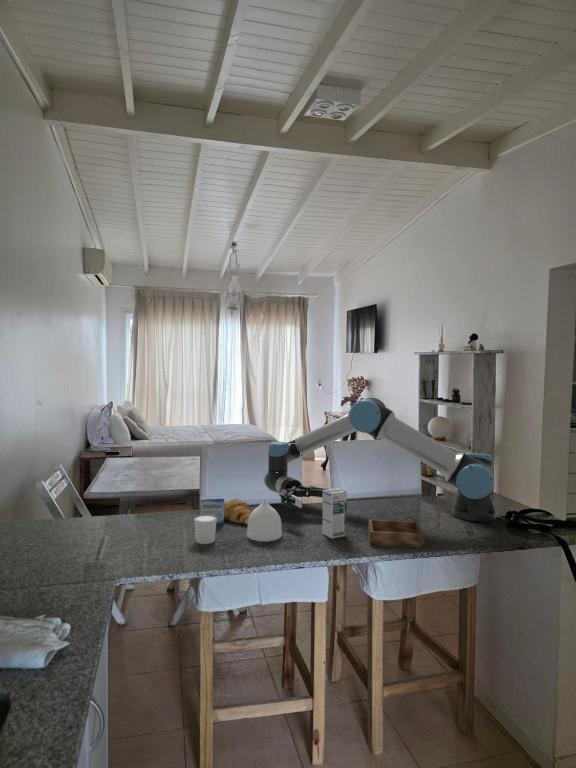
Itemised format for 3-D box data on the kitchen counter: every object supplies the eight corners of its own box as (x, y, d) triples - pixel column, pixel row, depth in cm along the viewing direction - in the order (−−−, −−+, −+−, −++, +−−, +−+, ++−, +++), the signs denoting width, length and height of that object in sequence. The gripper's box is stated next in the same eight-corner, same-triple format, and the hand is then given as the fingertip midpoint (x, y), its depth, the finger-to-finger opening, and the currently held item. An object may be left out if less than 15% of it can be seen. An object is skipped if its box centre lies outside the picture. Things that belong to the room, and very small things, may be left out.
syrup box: (331, 539, 157) (332, 493, 156) (321, 533, 162) (322, 488, 162) (346, 536, 160) (347, 491, 159) (336, 531, 165) (337, 487, 164)
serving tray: (418, 534, 163) (418, 521, 163) (423, 548, 150) (424, 534, 150) (368, 531, 165) (368, 519, 165) (369, 545, 152) (370, 531, 152)
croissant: (258, 535, 170) (268, 512, 172) (236, 526, 165) (246, 503, 167) (228, 518, 188) (237, 498, 189) (207, 509, 182) (216, 488, 184)
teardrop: (265, 527, 167) (266, 492, 167) (288, 536, 160) (289, 498, 159) (239, 535, 160) (240, 497, 159) (262, 544, 152) (263, 504, 152)
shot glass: (220, 538, 156) (220, 516, 156) (209, 546, 150) (210, 522, 149) (200, 536, 158) (200, 513, 158) (189, 543, 152) (189, 520, 152)
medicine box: (200, 525, 169) (200, 499, 169) (199, 521, 173) (199, 496, 173) (224, 523, 171) (224, 498, 171) (222, 520, 175) (222, 495, 175)
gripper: (317, 494, 194) (349, 508, 175) (258, 501, 182) (285, 517, 163) (318, 474, 194) (349, 486, 175) (259, 480, 182) (286, 494, 163)
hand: (318, 501), depth 169 cm, fingers open, 13 cm apart
